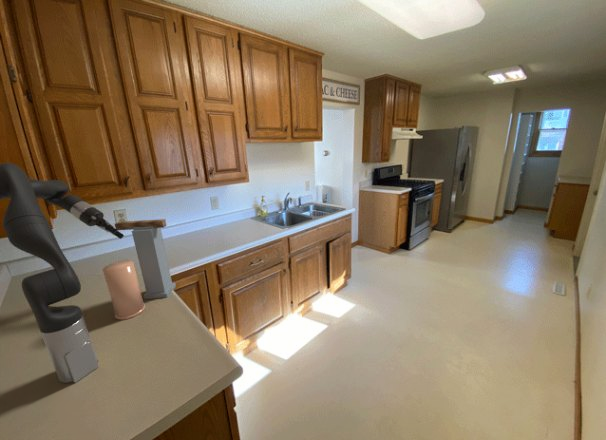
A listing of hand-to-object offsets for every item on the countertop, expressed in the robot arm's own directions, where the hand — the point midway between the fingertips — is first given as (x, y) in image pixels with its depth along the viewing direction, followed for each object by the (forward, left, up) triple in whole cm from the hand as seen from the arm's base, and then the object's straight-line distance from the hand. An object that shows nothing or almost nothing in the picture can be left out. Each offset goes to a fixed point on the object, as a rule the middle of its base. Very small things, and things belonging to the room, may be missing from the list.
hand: (118, 234), depth 112 cm
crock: (-14, +10, -29) cm, 34 cm away
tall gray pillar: (-12, -5, -29) cm, 32 cm away
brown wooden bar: (-10, -4, +3) cm, 11 cm away
